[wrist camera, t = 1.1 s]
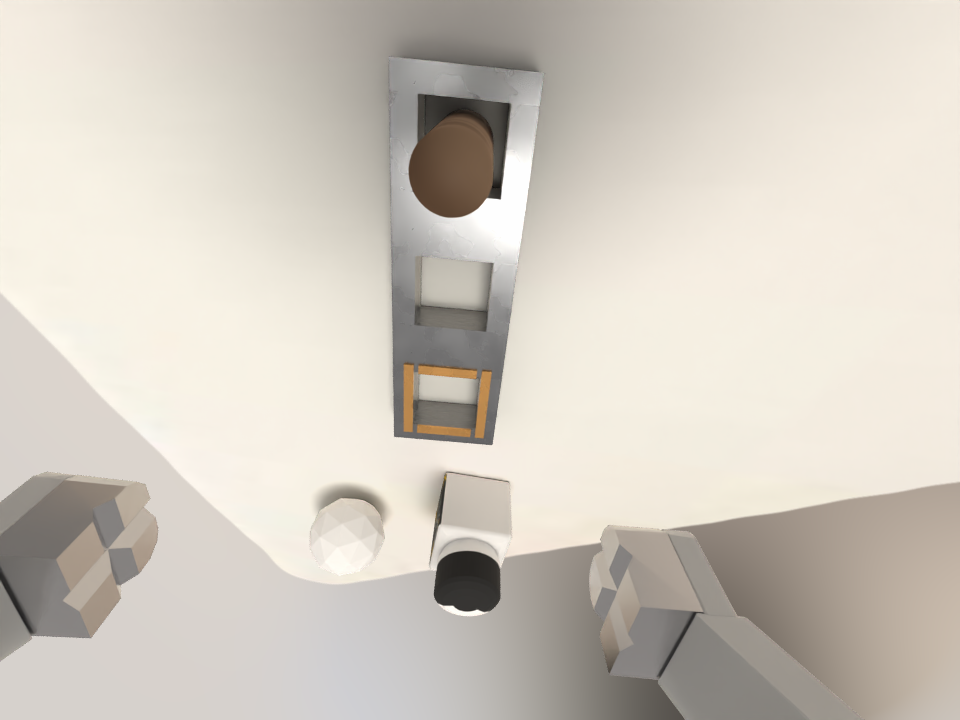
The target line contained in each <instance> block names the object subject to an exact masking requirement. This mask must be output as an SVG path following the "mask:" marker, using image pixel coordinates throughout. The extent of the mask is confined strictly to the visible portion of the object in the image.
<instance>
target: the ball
mask: <svg viewBox="0 0 960 720" xmlns="http://www.w3.org/2000/svg"><path fill="white" fill-rule="evenodd" d="M384 539H385V536H384V531H383V525H382V520H381V516H380V514H379V513H378V511H377V510H376V509H375V507H374V506H373V505H371V504H369V503H368V502H366V501H364V500H360V499H350V498H340V499H338V500H336V501H335V502H333V503H331V504H330V505H328V506H326V507H325V508H323V509H321V510H320V511H319V513H318V515H317V517H316V519H315V521H314V523H313V525H312V527H311V530H310V551H311V553H312V555H313V557H314V559H315V560H316V562H317V564H318V566H319V568H322V569H324V570H326V571H329V572H331V573H334V574H336V575H344V574H351V573H356V572H359V571H361V570H362V569H364V568H365V567H367V566H368V565H369V564H371V563H372V562H374V561H375V560H376V557H377V555H378V553H379V551H380V548H381V546H382V544H383V542H384Z"/></svg>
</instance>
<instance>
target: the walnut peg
mask: <svg viewBox="0 0 960 720" xmlns="http://www.w3.org/2000/svg"><path fill="white" fill-rule="evenodd" d="M493 148H494V140H493V134H492V130H491V128H490V126H489V124H488V122H487V121H486V120H485V119H484V118H483V117H482V116H481V115H480V114H478V113H476V112H474V111H471V110H457V111H454V112H452V113H450V114H449V115H447V116H446V117H445V118H444V119H443V120H442V121H441V122H440V123H439V124H437V125H436V126H435V127H434V128H433V129H432V130H431V131H430V132H429V133H427V134H426V135H425V136H424V137H423V138H422V139H421V140H420V141H419V142H418V144H417V145H416V146H415V148H414V150H413V152H412V154H411V157H410V161H409V171H408V173H409V181H410V185H411V188H412V190H413V192H414V194H415V196H416V198H417V199H418V201H419V202H420V203H421V204H422V205H423V206H424V207H425V208H426V209H428V210H429V211H430V212H432V213H434V214H436V215H439V216H442V217H447V218H458V217H463V216H466V215H468V214H471V213H472V212H474V211H476V210H477V209H478V208H479V207H480V206H481V205H482V204H483V203H484V202H485V200H486V199H487V197H488V195H489V193H490V190H491V187H492V183H493Z"/></svg>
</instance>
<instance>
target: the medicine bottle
mask: <svg viewBox="0 0 960 720" xmlns="http://www.w3.org/2000/svg"><path fill="white" fill-rule="evenodd" d="M511 539H512V521H511V495H510V483H509V482H504V481H498V480H492V479H486V478H479V477H473V476H467V475H461V474H455V473H446V474H445V477H444V481H443V486H442V490H441V495H440V499H439V503H438V508H437V512H436V518H435V526H434V534H433V541H432V549H431V556H430V564H429V567H430V569H431V570H434V571H436V579H435V589H434V597H435V600H436V601H437V603H438V604H439V606H441V607H442V608H443V609H444V610H446V611H448V612H450V613H453V614H457V615H462V616H476V615H481V614H484V613H487V612H489V611H491V610H492V609H493V608H494V607H495V606H496V605H497V604H498V602H499V600H500V568H501V566H502V563H503V560H504V558H505V555H506V552H507V550H508V547H509V544H510V542H511Z"/></svg>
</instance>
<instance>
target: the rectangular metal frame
mask: <svg viewBox="0 0 960 720" xmlns="http://www.w3.org/2000/svg"><path fill="white" fill-rule="evenodd" d="M543 80H544V73H542V72H532V71H523V70H514V69H504V68H495V67H485V66H476V65H467V64H457V63H448V62H439V61H429V60H420V59H410V58H401V57H392V56H389V108H390V178H391V248H392V318H393V389H394V437H404V438H415V439H427V440H439V441H451V442H462V443H474V444H486V445H492V444H493V437H494V430H495V423H496V416H497V408H498V401H499V394H500V387H501V380H502V373H503V366H504V358H505V351H506V344H507V337H508V330H509V323H510V316H511V308H512V301H513V294H514V287H515V280H516V273H517V266H518V259H519V251H520V244H521V237H522V230H523V223H524V216H525V209H526V201H527V194H528V187H529V180H530V173H531V166H532V159H533V151H534V144H535V137H536V130H537V123H538V116H539V109H540V101H541V94H542V87H543ZM425 94H428V95H437V96H447V97H456V98H466V99H475V100H485V101H494V102H504V103H510V104H509V113H508V122H507V131H506V141H505V150H504V159H503V168H502V177H501V187H500V188H491V190H490V193H489V195H488V197H487V199H486V200H485V202H484V203H483V204H482V205H481V206H480V207H479V208H478V209H477V210H476V211H474V212H472V213H471V214H468V215H466V216H463V217H458V218H447V217H442V216H439V215H436V214H434V213H432V212H430V211H429V210H428V209H426V208H425V207H424V206H423V205H422V204H421V203H420V202H419V201H418V199H417V198H416V196H415V194H414V192H413V190H412V188H411V185H410V181H409V173H408V171H409V161H410V157H411V154H412V152H413V150H414V148H415V146H416V145H417V144H418V142H419V141H420V140H421V139H422V138H423V137H424V132H425ZM422 256H424V257H434V258H445V259H455V260H466V261H476V262H487V263H492V269H491V279H490V288H489V297H488V306H487V312H483V311H472V310H461V309H450V308H440V307H429V306H421V267H422ZM419 374H425V375H436V376H448V377H459V378H470V379H476V378H480V380H479V389H478V398H477V405H468V404H456V403H445V402H433V401H422V400H419Z"/></svg>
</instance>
